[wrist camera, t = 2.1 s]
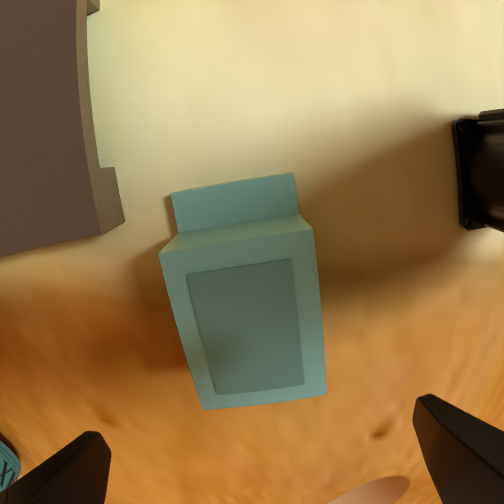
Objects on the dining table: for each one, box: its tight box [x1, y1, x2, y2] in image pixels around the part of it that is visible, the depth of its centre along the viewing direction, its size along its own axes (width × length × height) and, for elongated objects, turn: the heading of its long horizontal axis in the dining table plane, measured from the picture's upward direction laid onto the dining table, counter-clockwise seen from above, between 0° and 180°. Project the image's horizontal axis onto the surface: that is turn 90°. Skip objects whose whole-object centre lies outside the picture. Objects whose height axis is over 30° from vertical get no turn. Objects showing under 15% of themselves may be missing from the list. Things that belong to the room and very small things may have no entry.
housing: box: [158, 173, 327, 410], centre depth 15 cm, size 12×6×5 cm, turn 9°
